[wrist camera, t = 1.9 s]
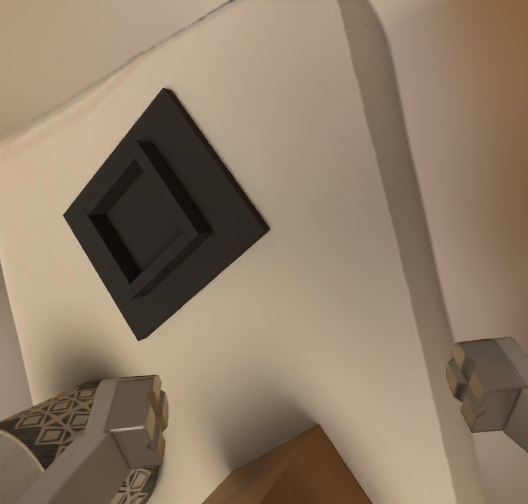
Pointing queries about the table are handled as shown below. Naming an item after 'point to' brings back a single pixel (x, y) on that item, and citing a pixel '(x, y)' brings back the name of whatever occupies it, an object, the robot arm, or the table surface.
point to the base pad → (162, 216)
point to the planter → (55, 445)
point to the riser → (293, 476)
